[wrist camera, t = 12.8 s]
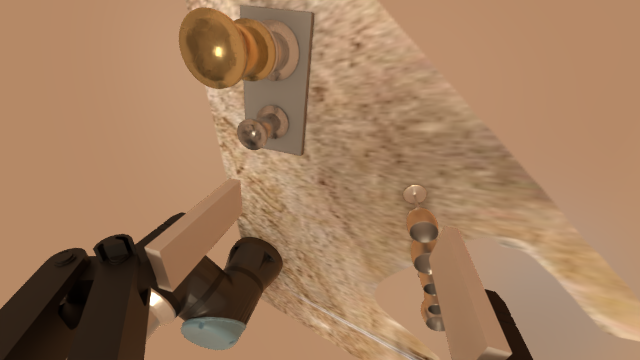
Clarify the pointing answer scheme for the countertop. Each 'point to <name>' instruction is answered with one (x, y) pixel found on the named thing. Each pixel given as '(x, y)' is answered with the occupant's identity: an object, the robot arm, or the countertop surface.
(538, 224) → the countertop surface
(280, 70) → the wide pipe stub
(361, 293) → the countertop surface
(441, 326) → the goblet set
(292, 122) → the plate
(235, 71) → the gold flared knob
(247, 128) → the narrow pipe stub
